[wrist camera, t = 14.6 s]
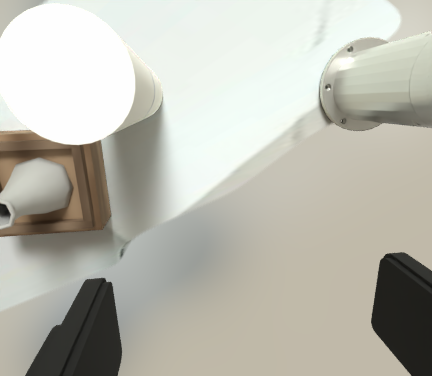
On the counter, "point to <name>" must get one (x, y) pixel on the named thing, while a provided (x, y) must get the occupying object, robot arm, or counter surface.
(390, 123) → the robot arm
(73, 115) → the cylindrical container
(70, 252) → the counter surface
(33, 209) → the flask
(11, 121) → the counter surface
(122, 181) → the counter surface
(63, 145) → the tray
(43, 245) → the counter surface
